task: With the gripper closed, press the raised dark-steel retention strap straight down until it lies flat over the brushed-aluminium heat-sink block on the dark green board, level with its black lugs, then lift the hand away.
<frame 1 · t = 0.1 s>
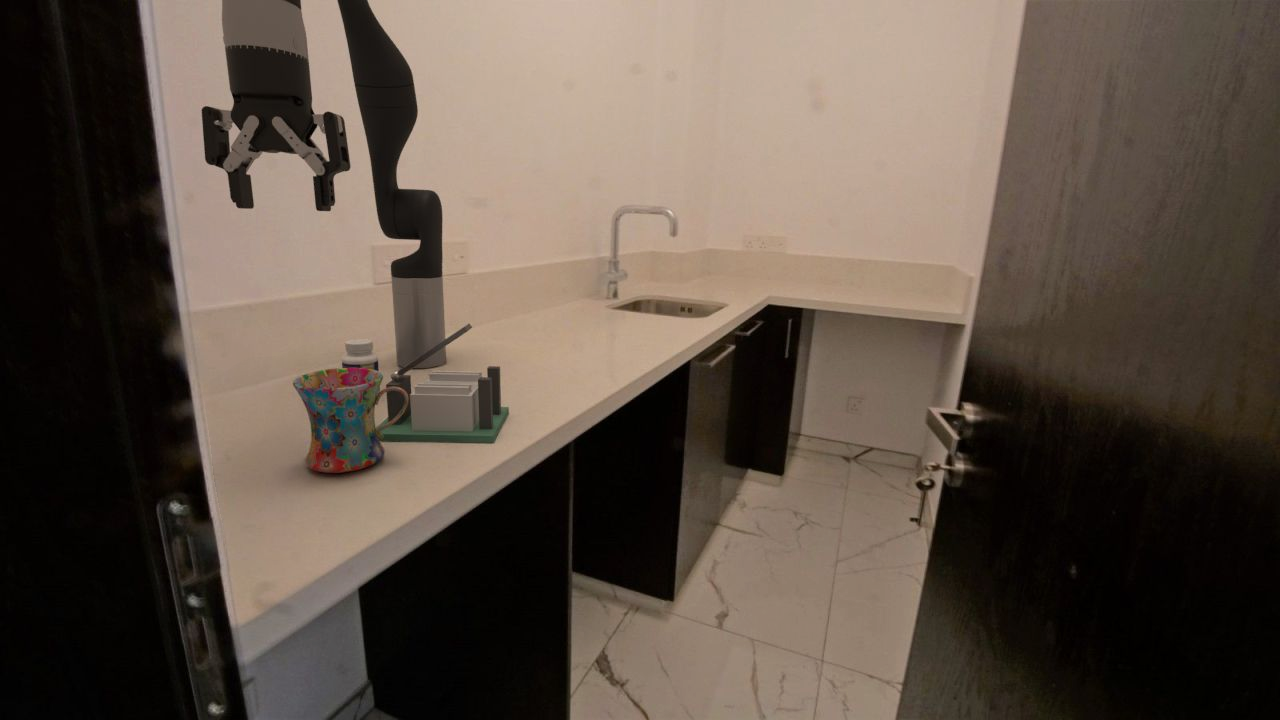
hand: (284, 209, 66), 29 cm above the worktop, fingers open, 8 cm apart
pill bottle: (363, 395, 96), on the worktop
mug: (359, 463, 70), on the worktop
heatsink base: (444, 426, 83), on the worktop
strap: (431, 351, 80), point 11 cm above the worktop, hinge at 35.0°
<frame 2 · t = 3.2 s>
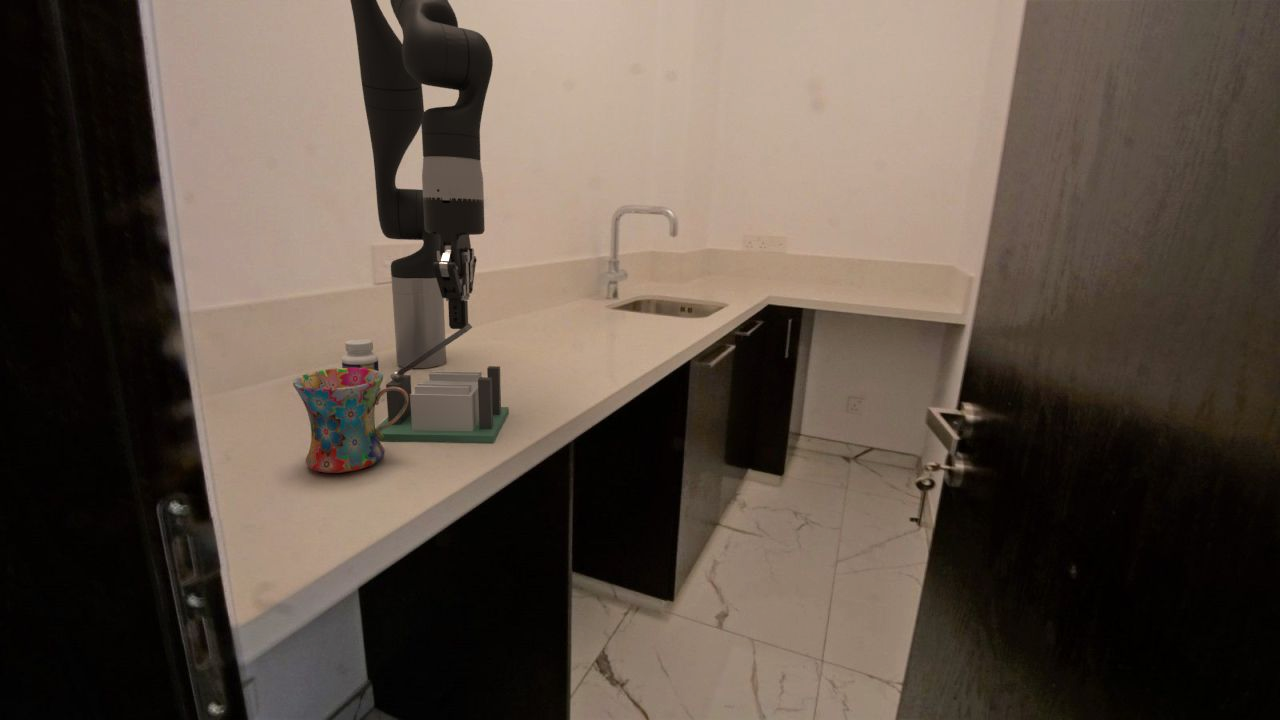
hand: (458, 327, 80), 14 cm above the worktop, fingers closed
strap: (431, 351, 80), point 11 cm above the worktop, hinge at 35.0°, touching gripper
everything else where it was.
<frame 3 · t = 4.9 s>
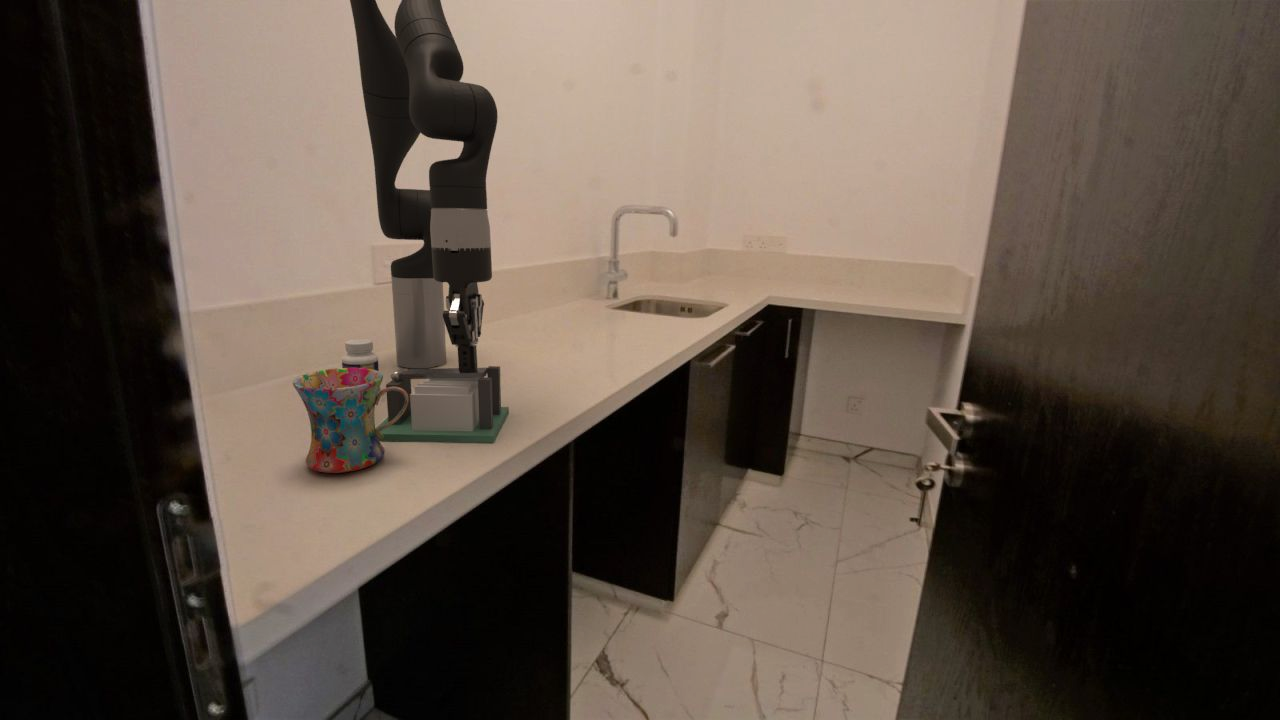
hand: (468, 372, 81), 8 cm above the worktop, fingers closed
strap: (440, 373, 81), point 8 cm above the worktop, hinge at 2.5°, touching gripper
everything else where it was.
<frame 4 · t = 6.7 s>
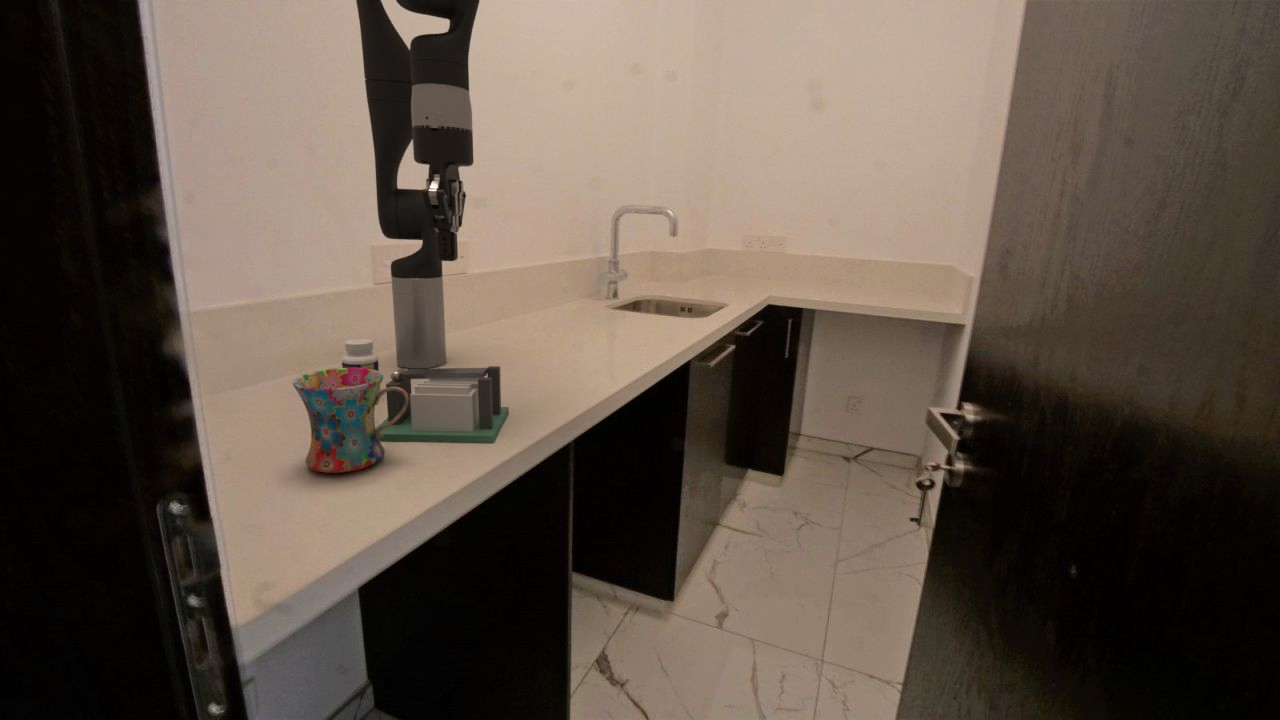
hand: (448, 260, 81), 23 cm above the worktop, fingers closed
strap: (440, 373, 81), point 8 cm above the worktop, hinge at 2.5°
everything else where it was.
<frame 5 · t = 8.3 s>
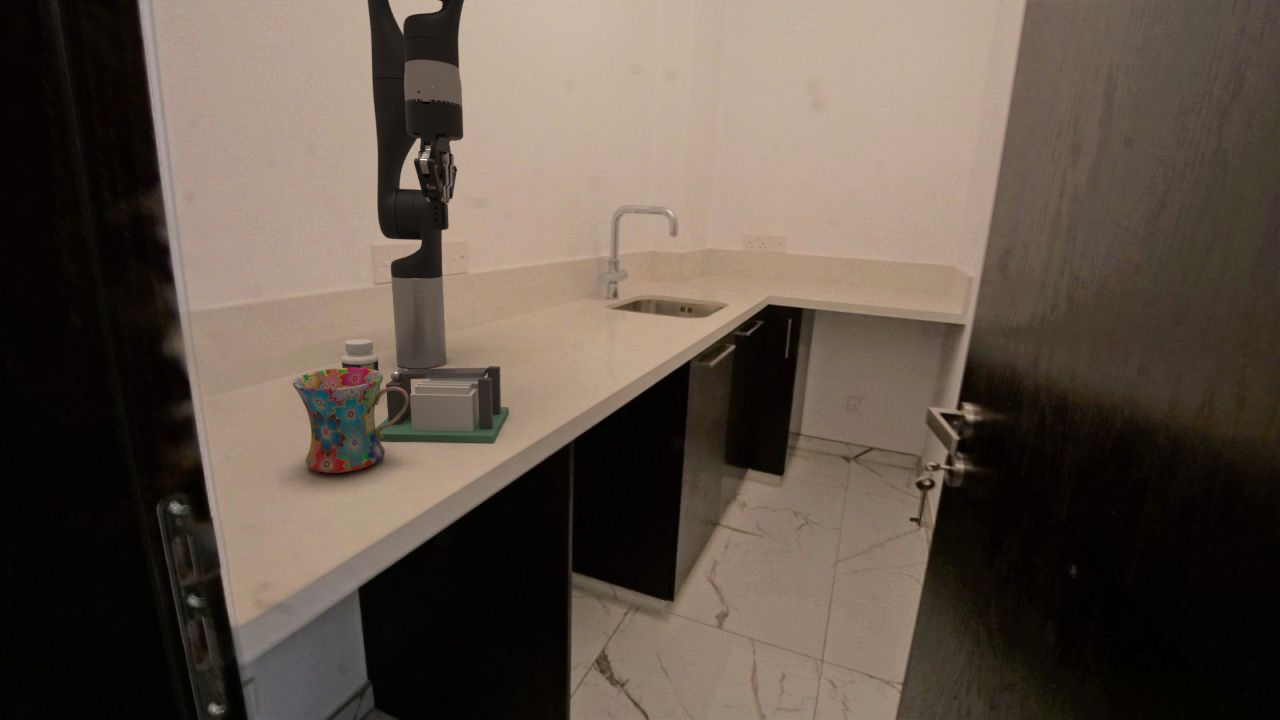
hand: (439, 229, 85), 27 cm above the worktop, fingers closed
nothing on the worktop moved.
at the end: strap at +2° (first picture: +35°) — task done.
